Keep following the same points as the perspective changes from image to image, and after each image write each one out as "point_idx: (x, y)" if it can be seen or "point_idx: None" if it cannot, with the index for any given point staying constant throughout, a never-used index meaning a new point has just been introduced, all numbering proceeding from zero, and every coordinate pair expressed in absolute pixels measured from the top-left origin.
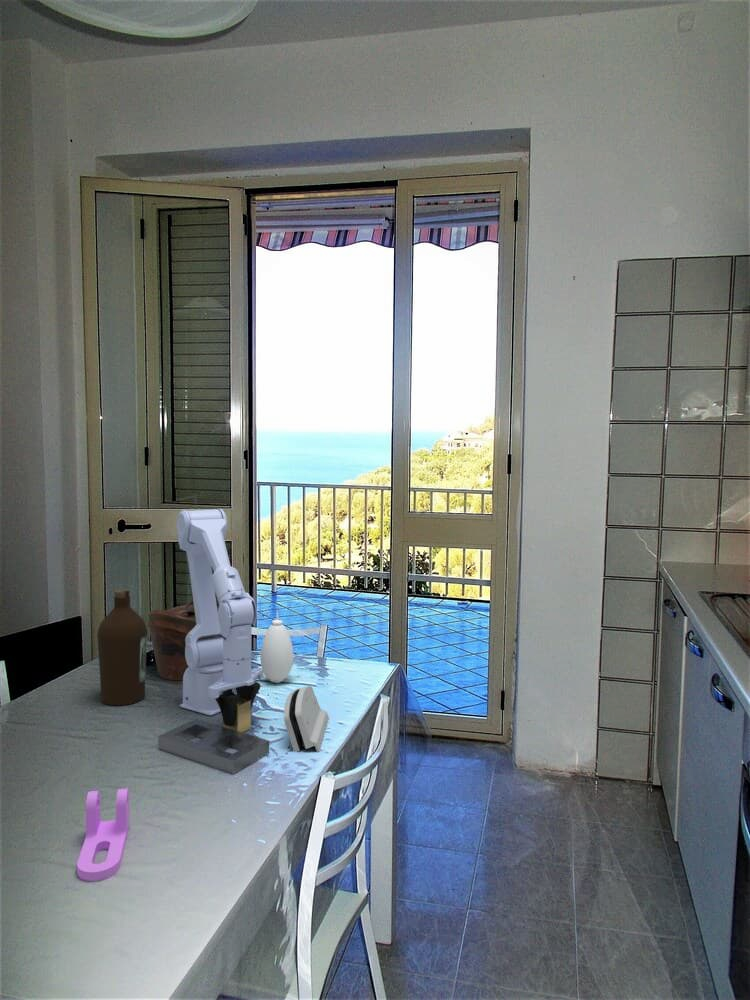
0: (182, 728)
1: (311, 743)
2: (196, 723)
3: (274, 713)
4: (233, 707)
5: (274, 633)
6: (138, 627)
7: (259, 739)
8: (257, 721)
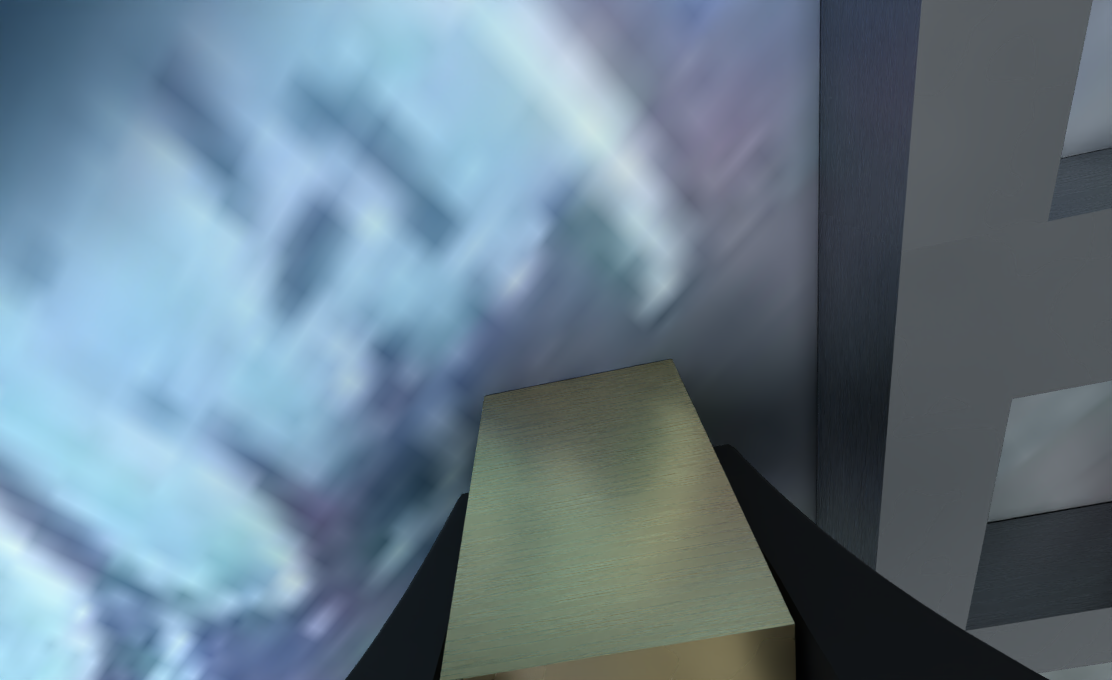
0: (1097, 631)
1: None
2: None
3: (118, 503)
4: (899, 624)
5: None
6: None
7: None
8: (345, 469)
